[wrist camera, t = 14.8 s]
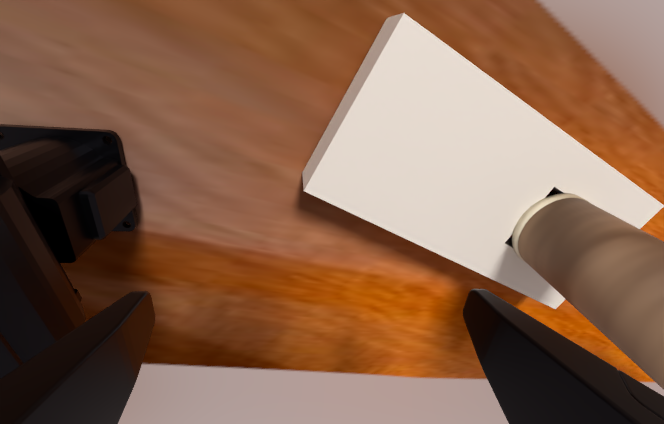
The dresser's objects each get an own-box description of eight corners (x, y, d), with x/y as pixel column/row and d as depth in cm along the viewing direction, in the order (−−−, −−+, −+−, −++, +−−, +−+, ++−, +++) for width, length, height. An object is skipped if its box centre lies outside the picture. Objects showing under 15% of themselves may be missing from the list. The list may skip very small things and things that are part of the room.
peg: (490, 249, 25) (658, 422, 13) (492, 188, 23) (702, 336, 11) (556, 234, 25) (781, 394, 14) (566, 171, 23) (851, 301, 11)
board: (302, 172, 21) (303, 191, 18) (387, 18, 18) (403, 12, 15) (530, 283, 28) (555, 309, 25) (623, 188, 24) (664, 205, 22)
